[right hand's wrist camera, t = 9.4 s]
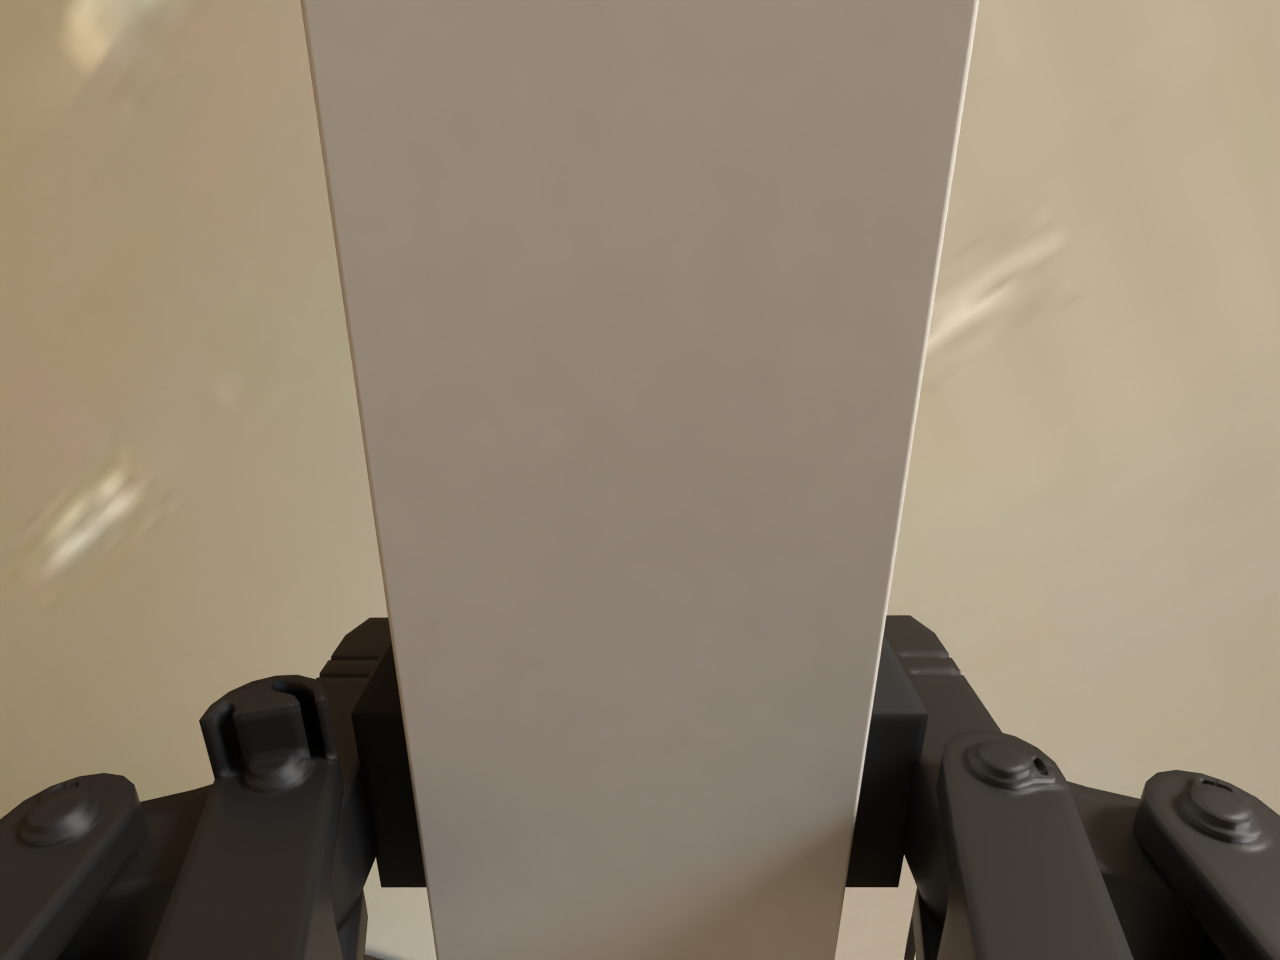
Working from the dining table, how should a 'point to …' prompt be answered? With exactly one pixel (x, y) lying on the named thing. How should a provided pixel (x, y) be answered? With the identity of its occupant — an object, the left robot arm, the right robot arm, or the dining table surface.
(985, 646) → the dining table surface
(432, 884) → the beam
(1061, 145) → the dining table surface
